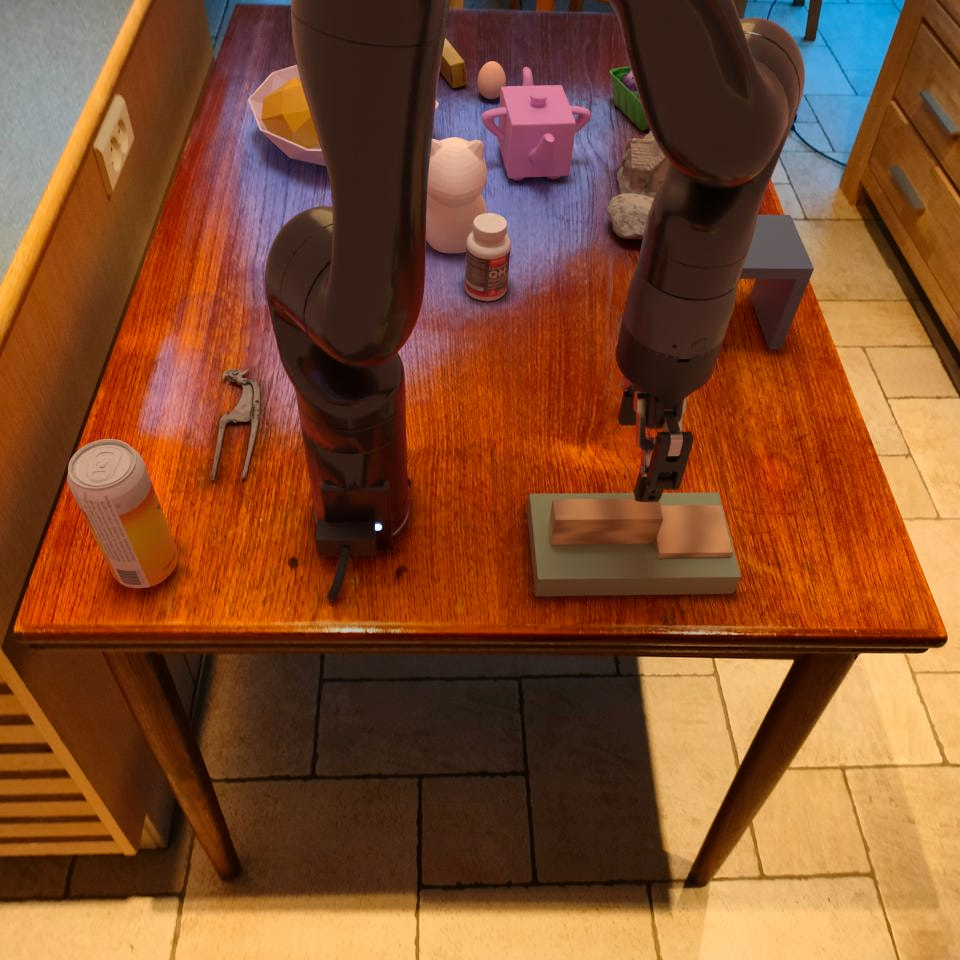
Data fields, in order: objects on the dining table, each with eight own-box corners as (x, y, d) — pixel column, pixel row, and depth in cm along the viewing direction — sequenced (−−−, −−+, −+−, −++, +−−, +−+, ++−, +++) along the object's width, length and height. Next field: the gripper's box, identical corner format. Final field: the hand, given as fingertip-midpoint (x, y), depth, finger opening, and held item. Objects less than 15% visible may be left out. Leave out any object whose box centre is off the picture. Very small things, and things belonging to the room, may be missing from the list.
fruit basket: (602, 100, 143) (613, 28, 135) (650, 92, 146) (664, 20, 137) (637, 137, 137) (652, 63, 128) (687, 127, 139) (704, 54, 131)
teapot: (601, 167, 131) (613, 96, 123) (543, 206, 125) (552, 132, 116) (521, 128, 137) (526, 57, 129) (462, 162, 130) (464, 90, 122)
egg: (489, 87, 144) (491, 52, 140) (510, 97, 143) (513, 62, 138) (470, 97, 142) (472, 62, 138) (492, 108, 140) (494, 72, 136)
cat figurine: (417, 264, 115) (416, 158, 104) (418, 206, 123) (417, 102, 111) (487, 265, 116) (494, 159, 104) (483, 208, 124) (489, 103, 112)
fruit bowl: (263, 92, 140) (252, 18, 131) (437, 96, 142) (438, 23, 133) (240, 196, 123) (226, 118, 114) (439, 200, 124) (440, 123, 116)
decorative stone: (630, 265, 117) (637, 233, 113) (593, 218, 123) (598, 186, 119) (711, 247, 120) (720, 215, 116) (671, 202, 126) (678, 170, 123)
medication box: (427, 56, 150) (424, 32, 147) (442, 52, 151) (440, 28, 148) (451, 89, 143) (449, 64, 140) (467, 85, 144) (466, 60, 140)
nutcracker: (246, 479, 91) (196, 477, 91) (247, 484, 92) (197, 482, 91) (268, 366, 101) (223, 364, 101) (269, 371, 102) (224, 369, 101)
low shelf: (733, 594, 86) (741, 576, 83) (535, 596, 85) (538, 579, 82) (711, 510, 92) (718, 492, 90) (526, 511, 91) (529, 493, 89)
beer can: (185, 539, 87) (147, 435, 75) (173, 592, 83) (132, 492, 72) (121, 539, 87) (73, 435, 75) (106, 593, 83) (54, 492, 71)
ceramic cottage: (719, 147, 136) (739, 49, 124) (727, 215, 126) (751, 115, 114) (615, 144, 137) (625, 47, 125) (615, 211, 127) (626, 112, 115)
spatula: (552, 559, 84) (556, 534, 81) (546, 511, 87) (551, 485, 84) (731, 557, 85) (742, 532, 82) (718, 509, 88) (729, 484, 85)
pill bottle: (494, 308, 110) (498, 241, 103) (456, 293, 112) (458, 226, 104) (514, 284, 113) (521, 218, 106) (477, 270, 115) (481, 203, 107)
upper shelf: (781, 349, 108) (814, 268, 99) (649, 349, 107) (670, 267, 98) (761, 295, 114) (790, 214, 105) (636, 294, 113) (655, 213, 104)
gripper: (610, 256, 70) (584, 400, 82) (641, 388, 61) (607, 527, 74) (705, 255, 70) (664, 399, 83) (750, 386, 61) (697, 524, 74)
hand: (637, 459), depth 78 cm, fingers open, 8 cm apart
